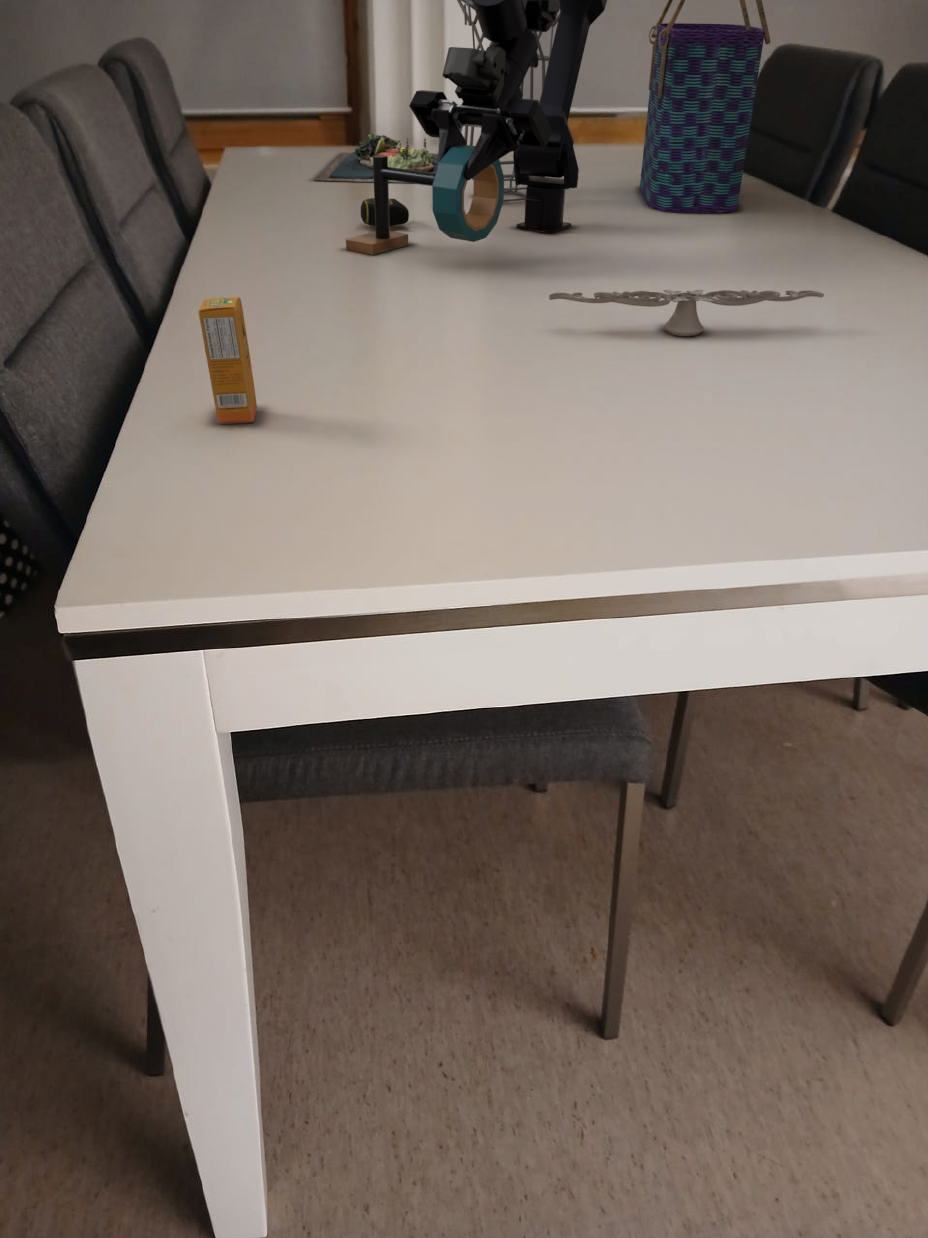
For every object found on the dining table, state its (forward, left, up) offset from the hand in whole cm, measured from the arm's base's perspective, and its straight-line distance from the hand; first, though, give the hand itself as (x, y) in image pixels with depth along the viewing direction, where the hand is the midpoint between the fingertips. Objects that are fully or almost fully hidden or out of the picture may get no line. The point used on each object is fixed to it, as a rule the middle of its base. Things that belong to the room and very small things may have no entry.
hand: (452, 175), depth 122 cm
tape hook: (-4, -10, -11) cm, 16 cm away
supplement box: (+53, +15, -12) cm, 57 cm away
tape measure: (-16, -24, -12) cm, 31 cm away
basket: (-67, +3, -12) cm, 68 cm away
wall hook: (+6, +36, -12) cm, 39 cm away
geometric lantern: (-46, -22, -12) cm, 52 cm away
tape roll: (-4, 0, -8) cm, 9 cm away
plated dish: (-60, -57, -12) cm, 83 cm away
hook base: (-4, -16, -11) cm, 20 cm away
